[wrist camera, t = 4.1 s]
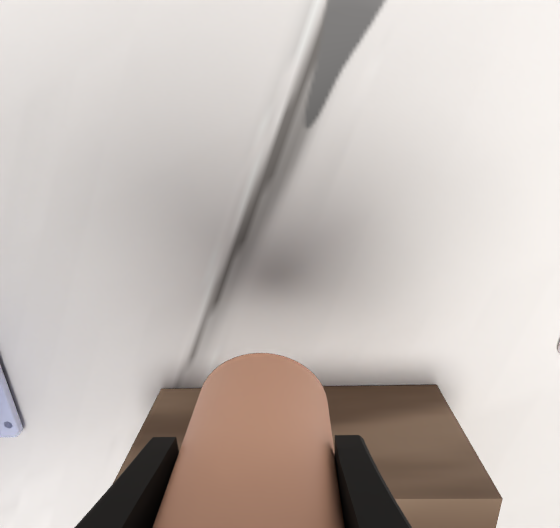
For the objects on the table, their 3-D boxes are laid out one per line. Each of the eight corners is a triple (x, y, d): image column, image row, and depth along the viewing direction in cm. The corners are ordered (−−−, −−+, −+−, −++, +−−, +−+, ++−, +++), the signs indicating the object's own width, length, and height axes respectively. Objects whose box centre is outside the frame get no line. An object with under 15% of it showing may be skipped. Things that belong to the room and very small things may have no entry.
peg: (191, 354, 11) (77, 605, 5) (328, 351, 10) (371, 608, 5) (206, 457, 12) (131, 747, 6) (327, 456, 12) (361, 753, 6)
